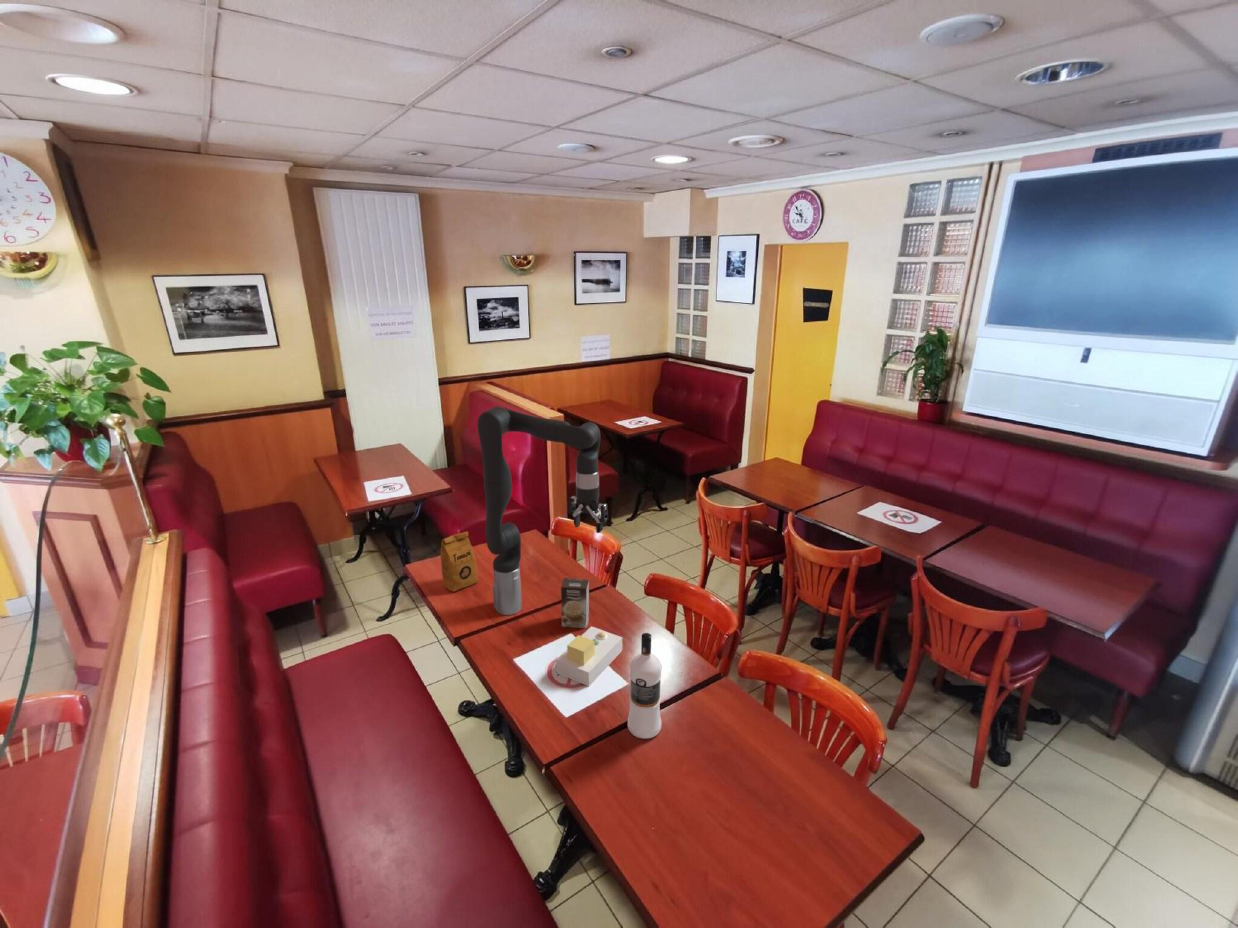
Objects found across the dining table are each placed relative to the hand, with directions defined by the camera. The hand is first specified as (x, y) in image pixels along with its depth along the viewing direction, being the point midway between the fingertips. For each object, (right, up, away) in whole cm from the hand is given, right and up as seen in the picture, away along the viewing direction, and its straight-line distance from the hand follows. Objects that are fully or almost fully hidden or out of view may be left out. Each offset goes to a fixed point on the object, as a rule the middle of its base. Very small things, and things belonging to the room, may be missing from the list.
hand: (588, 529), depth 195 cm
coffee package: (-52, -26, +35) cm, 68 cm away
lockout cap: (-1, -38, -14) cm, 40 cm away
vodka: (+17, -51, -35) cm, 64 cm away
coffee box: (-5, -35, +11) cm, 37 cm away
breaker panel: (+1, -41, -8) cm, 42 cm away
